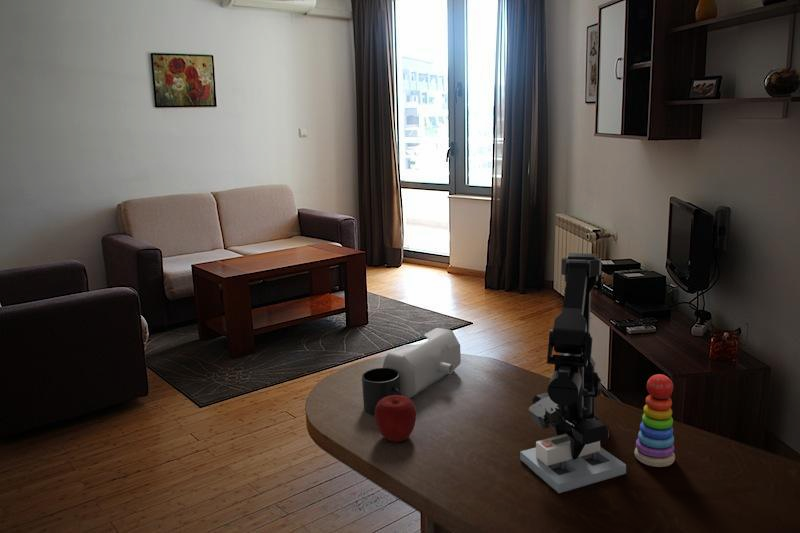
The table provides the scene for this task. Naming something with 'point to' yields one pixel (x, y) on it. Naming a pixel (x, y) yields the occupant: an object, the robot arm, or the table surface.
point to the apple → (395, 417)
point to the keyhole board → (575, 469)
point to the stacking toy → (656, 425)
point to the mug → (379, 386)
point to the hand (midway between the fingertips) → (568, 453)
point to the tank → (425, 361)
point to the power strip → (561, 450)
